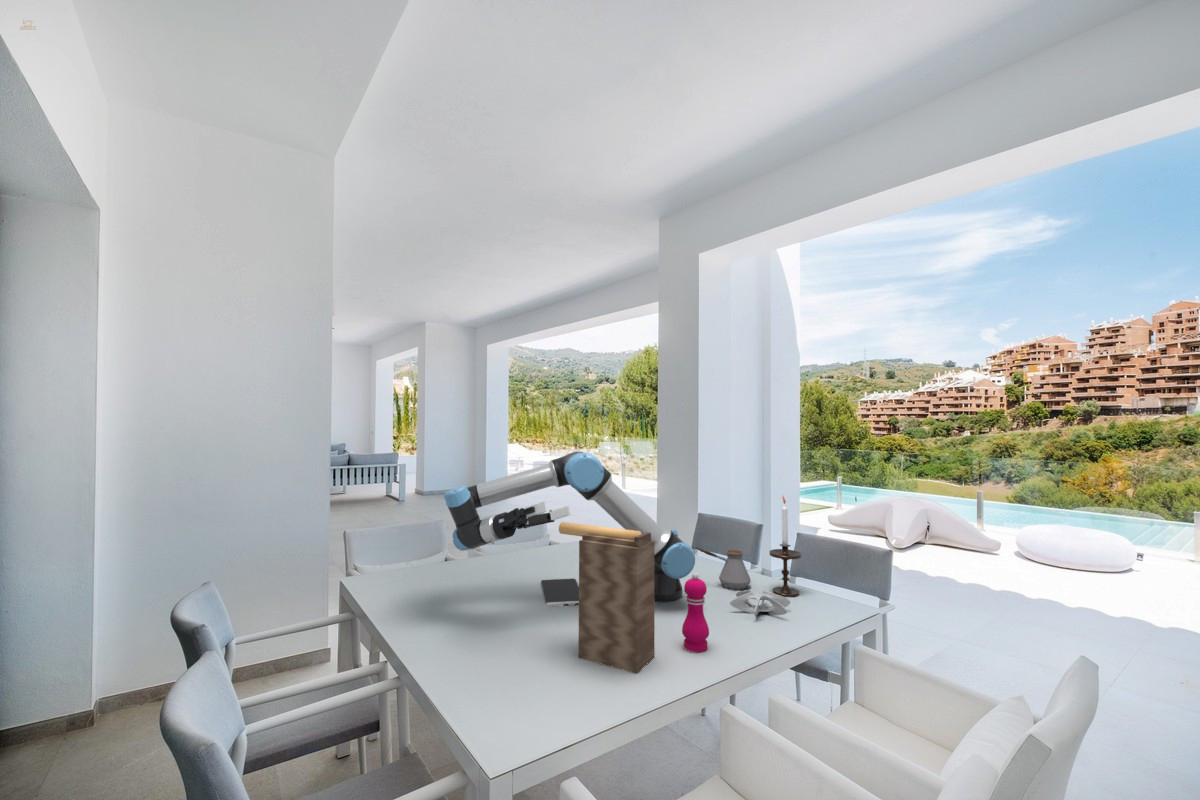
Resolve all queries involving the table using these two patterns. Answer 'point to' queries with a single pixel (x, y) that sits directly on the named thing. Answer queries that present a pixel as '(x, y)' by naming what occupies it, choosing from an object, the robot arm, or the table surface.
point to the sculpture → (777, 603)
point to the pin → (596, 531)
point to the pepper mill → (695, 616)
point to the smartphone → (560, 591)
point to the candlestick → (785, 558)
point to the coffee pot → (732, 570)
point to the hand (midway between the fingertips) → (558, 508)
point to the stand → (616, 601)
